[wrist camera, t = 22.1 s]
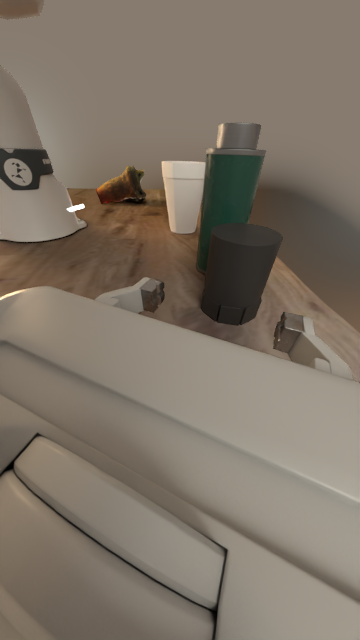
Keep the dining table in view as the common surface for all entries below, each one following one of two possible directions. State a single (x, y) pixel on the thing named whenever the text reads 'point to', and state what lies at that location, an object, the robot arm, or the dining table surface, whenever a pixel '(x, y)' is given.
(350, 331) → the dining table surface
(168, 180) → the foam cup
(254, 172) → the thermos
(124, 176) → the pot
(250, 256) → the lid
